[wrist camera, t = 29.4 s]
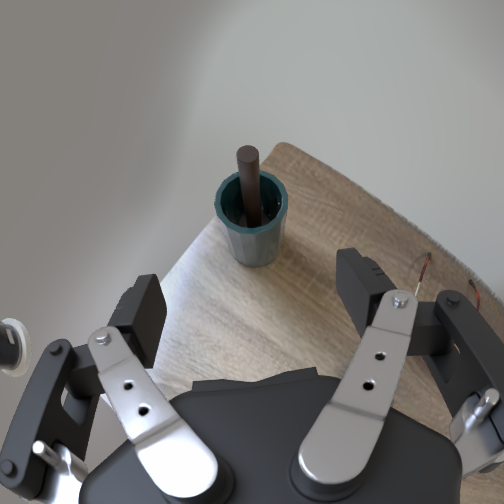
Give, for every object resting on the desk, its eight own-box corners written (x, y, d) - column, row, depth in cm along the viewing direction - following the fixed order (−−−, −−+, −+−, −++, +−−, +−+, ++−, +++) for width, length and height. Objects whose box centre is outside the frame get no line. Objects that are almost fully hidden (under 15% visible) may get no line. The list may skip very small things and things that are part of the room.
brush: (236, 246, 46) (213, 163, 25) (249, 222, 47) (237, 129, 26) (261, 258, 45) (258, 181, 24) (274, 234, 46) (280, 145, 25)
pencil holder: (219, 252, 46) (201, 214, 33) (244, 209, 49) (237, 160, 35) (266, 276, 45) (267, 246, 32) (290, 231, 47) (299, 186, 34)
